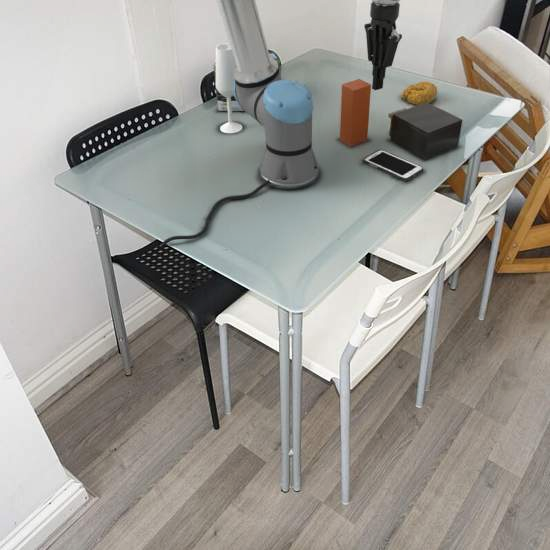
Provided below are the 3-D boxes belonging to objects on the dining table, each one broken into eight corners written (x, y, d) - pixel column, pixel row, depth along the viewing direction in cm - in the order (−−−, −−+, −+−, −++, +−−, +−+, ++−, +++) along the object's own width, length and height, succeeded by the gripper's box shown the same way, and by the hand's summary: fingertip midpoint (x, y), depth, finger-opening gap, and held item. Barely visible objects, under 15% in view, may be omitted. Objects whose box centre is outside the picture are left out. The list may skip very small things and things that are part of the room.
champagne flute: (219, 133, 182) (211, 52, 166) (220, 123, 187) (212, 43, 171) (242, 132, 182) (236, 51, 166) (242, 122, 187) (236, 42, 171)
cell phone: (405, 182, 158) (406, 179, 158) (361, 162, 167) (361, 159, 166) (424, 171, 162) (424, 167, 162) (379, 151, 170) (380, 148, 170)
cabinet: (390, 140, 175) (392, 114, 170) (423, 128, 180) (426, 101, 175) (424, 160, 167) (428, 132, 161) (457, 146, 172) (462, 119, 166)
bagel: (406, 90, 200) (407, 76, 197) (439, 96, 196) (442, 81, 193) (396, 102, 194) (398, 88, 190) (431, 108, 190) (433, 94, 187)
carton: (350, 146, 173) (353, 90, 163) (339, 139, 177) (341, 84, 166) (367, 140, 176) (371, 84, 165) (356, 133, 179) (359, 78, 168)
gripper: (413, 5, 160) (402, 93, 175) (380, -7, 169) (372, 78, 184) (391, 11, 157) (382, 99, 172) (358, -2, 166) (352, 83, 181)
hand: (377, 88), depth 178 cm, fingers closed
